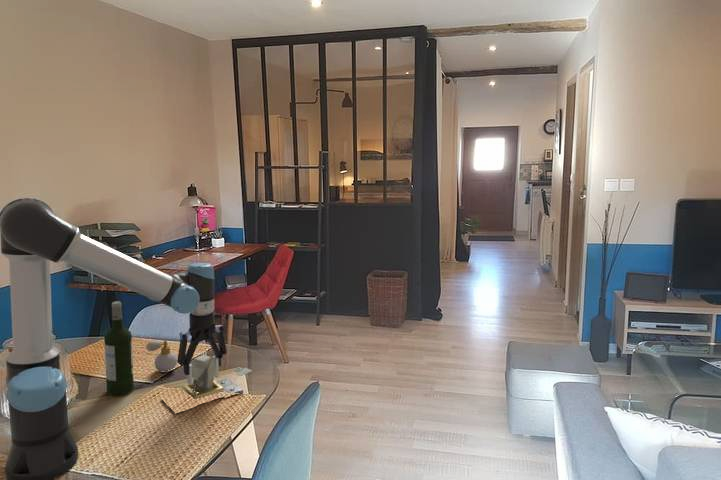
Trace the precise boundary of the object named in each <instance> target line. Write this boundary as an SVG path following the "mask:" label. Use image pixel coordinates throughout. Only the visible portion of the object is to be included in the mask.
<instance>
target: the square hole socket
mask: <svg viewBox="0 0 721 480" xmlns="http://www.w3.org/2000/svg"><path fill="white" fill-rule="evenodd" d="M192 383H193V381H192ZM192 389H193V385H189V384H188V383H185V384H182V391H183V390H185V391H186V392H187V393H188V394H189V395H191V396H192V397H193V398H194V399H197V398H201V397H205V396H209V395H212V394H215V393H219V392H232V393H241V394H243V393H244V390H243V388H241V387H240V386H238V385H237V384H236V383H234V382H233V381H232V380H231V379H229V378H228V377H226V378H222V379H219V380H216V379H214V383H213V389H212V390H208V391H205V392H202V393H198V394H196V393H195V392H194V391H193V390H192Z"/></svg>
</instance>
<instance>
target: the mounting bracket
mask: <svg viewBox="0 0 721 480" xmlns="http://www.w3.org/2000/svg"><path fill="white" fill-rule="evenodd" d="M234 372H235V375H236V376H239V377H242V376H245V375H247V374H249V373H252V372H253V370H252V369H250V368H248V367H243V368H241V367H235V368H234Z"/></svg>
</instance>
